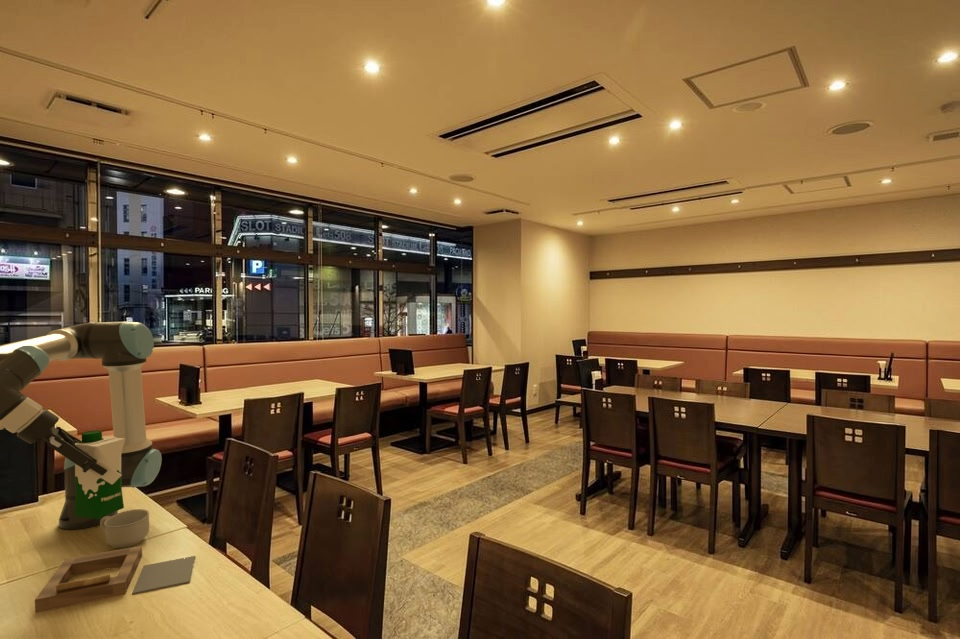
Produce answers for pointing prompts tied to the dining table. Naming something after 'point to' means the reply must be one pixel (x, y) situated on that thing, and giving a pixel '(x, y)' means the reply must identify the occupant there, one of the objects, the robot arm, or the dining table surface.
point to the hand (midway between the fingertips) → (115, 474)
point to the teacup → (126, 528)
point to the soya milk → (91, 489)
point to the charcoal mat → (164, 574)
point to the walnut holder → (89, 579)
